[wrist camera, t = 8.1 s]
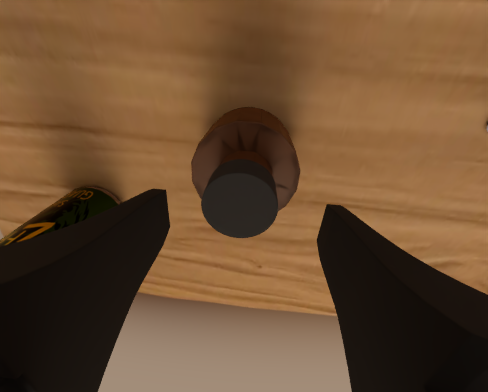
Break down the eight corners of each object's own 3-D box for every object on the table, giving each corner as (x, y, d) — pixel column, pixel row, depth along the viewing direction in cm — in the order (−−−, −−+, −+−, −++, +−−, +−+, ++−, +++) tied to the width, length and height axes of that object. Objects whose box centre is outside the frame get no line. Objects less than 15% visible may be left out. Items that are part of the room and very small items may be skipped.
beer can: (138, 221, 24) (41, 346, 13) (96, 236, 25) (-22, 361, 14) (103, 175, 21) (-49, 283, 11) (59, 194, 23) (-114, 307, 12)
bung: (279, 154, 13) (283, 176, 11) (270, 210, 15) (273, 241, 13) (212, 148, 13) (200, 169, 11) (212, 205, 15) (201, 234, 13)
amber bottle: (297, 110, 18) (316, 136, 12) (283, 191, 21) (293, 243, 15) (206, 103, 18) (178, 124, 12) (207, 184, 21) (185, 233, 15)
